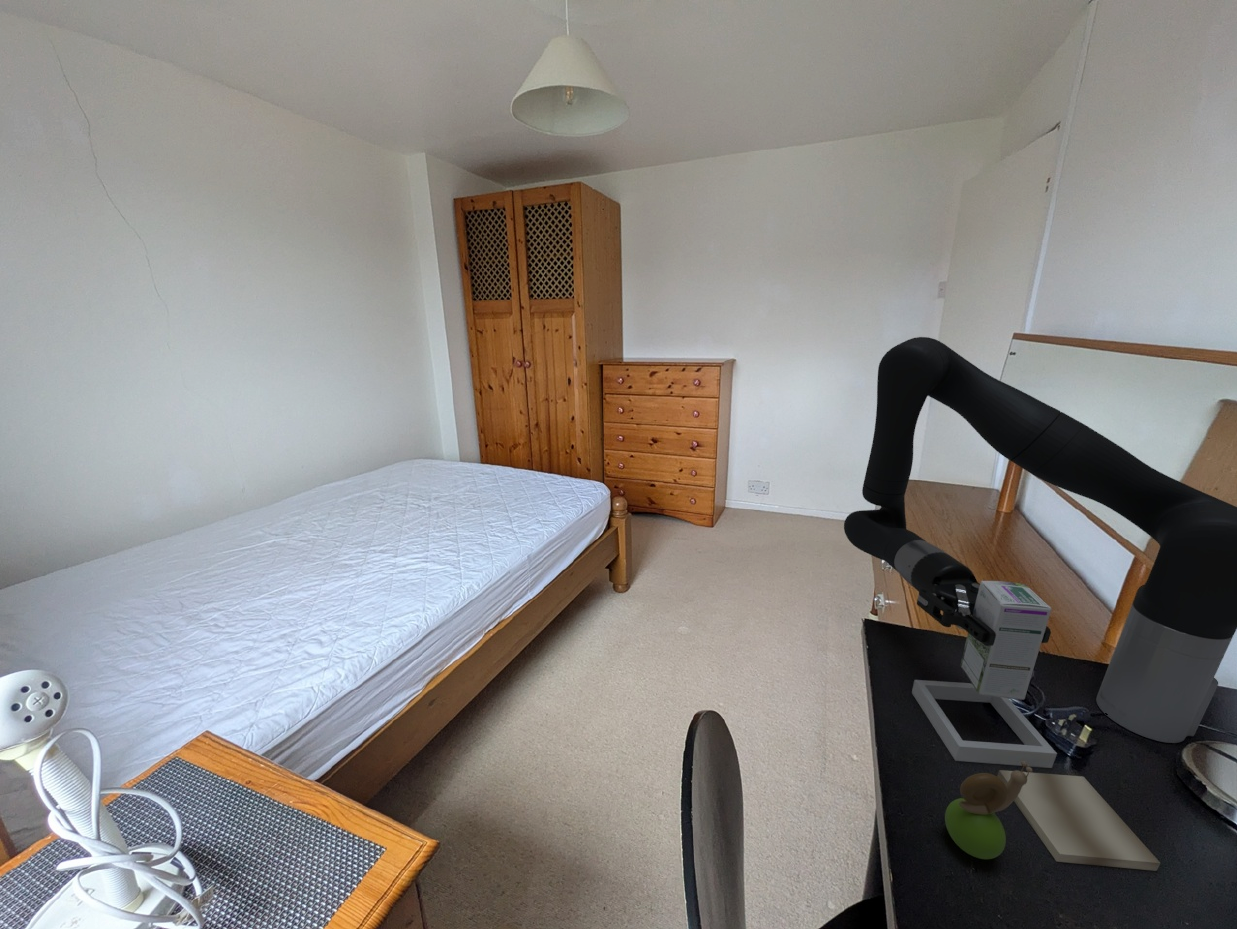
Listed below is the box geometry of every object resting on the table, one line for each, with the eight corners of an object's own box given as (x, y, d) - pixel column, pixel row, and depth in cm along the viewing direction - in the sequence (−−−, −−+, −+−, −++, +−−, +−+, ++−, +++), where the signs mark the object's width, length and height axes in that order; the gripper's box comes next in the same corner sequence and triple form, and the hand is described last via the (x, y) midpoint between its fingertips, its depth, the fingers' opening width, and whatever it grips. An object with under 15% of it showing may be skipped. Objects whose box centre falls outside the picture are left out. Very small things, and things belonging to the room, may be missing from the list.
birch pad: (1080, 783, 61) (1083, 776, 61) (1156, 870, 52) (1160, 862, 51) (996, 776, 62) (999, 769, 62) (1056, 861, 52) (1059, 853, 52)
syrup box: (1026, 701, 64) (1056, 607, 59) (976, 695, 65) (1002, 602, 60) (1002, 670, 69) (1028, 582, 64) (957, 665, 70) (979, 578, 66)
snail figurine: (1021, 872, 52) (1051, 789, 48) (960, 871, 52) (986, 788, 48) (984, 820, 57) (1010, 742, 53) (930, 820, 57) (951, 742, 53)
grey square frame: (992, 697, 74) (996, 684, 74) (1051, 768, 63) (1057, 753, 62) (911, 692, 76) (914, 679, 75) (955, 760, 64) (959, 746, 63)
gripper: (893, 553, 76) (973, 617, 60) (979, 549, 77) (1080, 611, 61) (885, 594, 78) (960, 665, 63) (969, 590, 79) (1064, 659, 63)
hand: (1019, 638), depth 62 cm, fingers closed on syrup box, 7 cm apart
